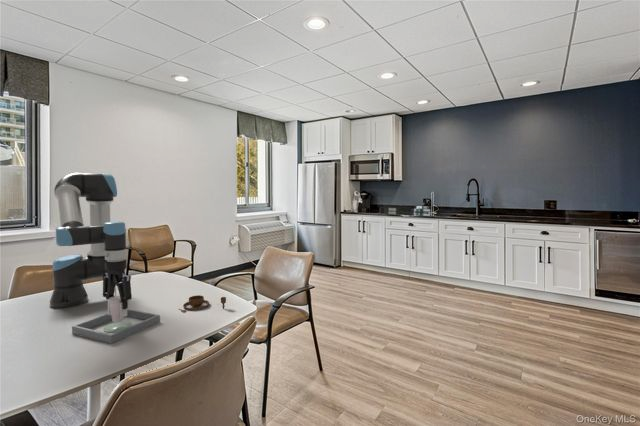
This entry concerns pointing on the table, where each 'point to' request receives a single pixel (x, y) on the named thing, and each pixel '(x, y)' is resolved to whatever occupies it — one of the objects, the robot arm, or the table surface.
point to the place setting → (199, 303)
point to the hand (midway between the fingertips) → (117, 315)
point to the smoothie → (115, 308)
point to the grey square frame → (115, 326)
